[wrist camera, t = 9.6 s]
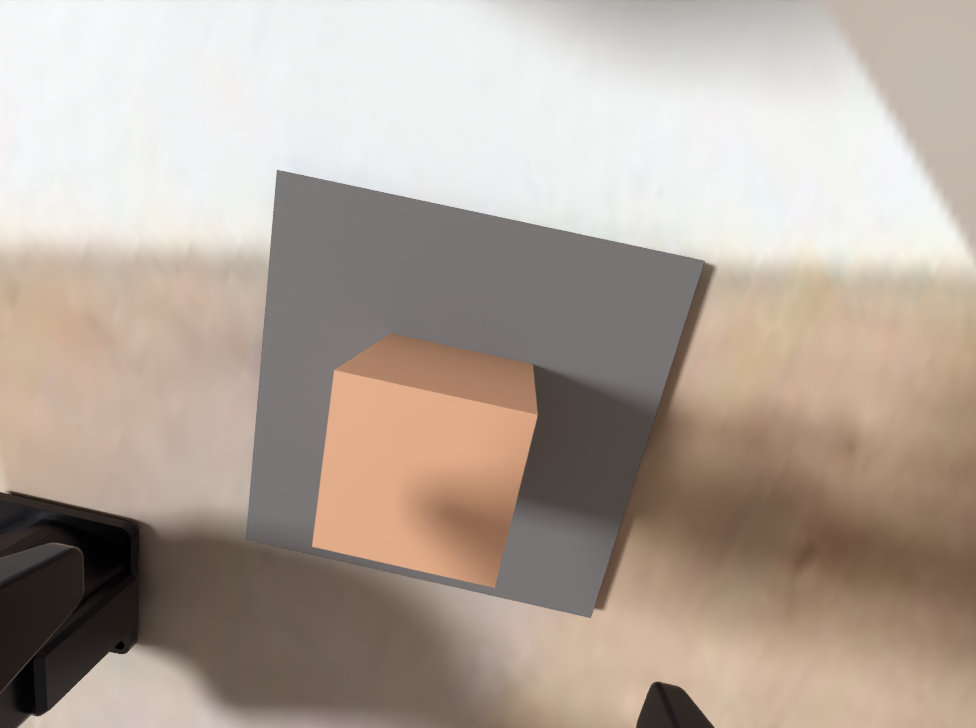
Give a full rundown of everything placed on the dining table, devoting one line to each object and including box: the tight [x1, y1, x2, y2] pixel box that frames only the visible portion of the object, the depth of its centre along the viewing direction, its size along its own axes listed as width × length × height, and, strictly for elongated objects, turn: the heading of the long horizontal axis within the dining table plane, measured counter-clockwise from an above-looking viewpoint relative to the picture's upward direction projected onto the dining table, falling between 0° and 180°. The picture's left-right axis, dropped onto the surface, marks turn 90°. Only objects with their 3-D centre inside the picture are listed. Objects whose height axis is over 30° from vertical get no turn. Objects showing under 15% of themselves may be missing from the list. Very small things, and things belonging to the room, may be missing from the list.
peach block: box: [312, 333, 538, 588], centre depth 14 cm, size 5×5×5 cm
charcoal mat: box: [246, 170, 705, 618], centre depth 17 cm, size 14×14×1 cm
